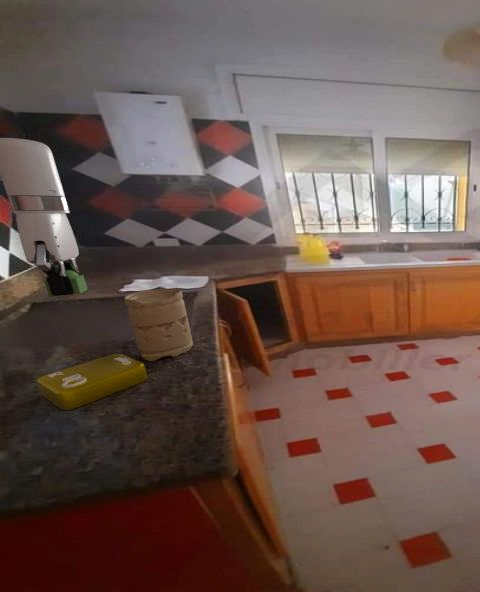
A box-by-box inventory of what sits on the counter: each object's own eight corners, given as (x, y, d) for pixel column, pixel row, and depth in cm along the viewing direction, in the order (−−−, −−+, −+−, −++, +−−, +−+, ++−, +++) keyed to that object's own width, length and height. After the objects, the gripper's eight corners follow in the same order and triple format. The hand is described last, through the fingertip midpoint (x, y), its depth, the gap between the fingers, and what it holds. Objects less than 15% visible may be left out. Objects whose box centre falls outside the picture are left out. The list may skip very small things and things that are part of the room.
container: (198, 350, 95) (186, 293, 90) (144, 365, 86) (127, 302, 81) (187, 339, 103) (175, 286, 98) (136, 352, 94) (120, 294, 89)
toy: (49, 296, 66) (41, 273, 65) (58, 292, 70) (50, 270, 68) (80, 293, 69) (73, 271, 67) (88, 289, 72) (81, 268, 71)
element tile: (151, 379, 79) (146, 362, 77) (65, 413, 66) (58, 393, 64) (122, 366, 85) (117, 350, 84) (39, 395, 72) (32, 376, 71)
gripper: (36, 206, 69) (62, 286, 74) (-15, 205, 55) (21, 304, 60) (83, 206, 73) (105, 283, 78) (46, 205, 59) (76, 299, 64)
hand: (68, 291), depth 69 cm, fingers closed on toy, 4 cm apart
